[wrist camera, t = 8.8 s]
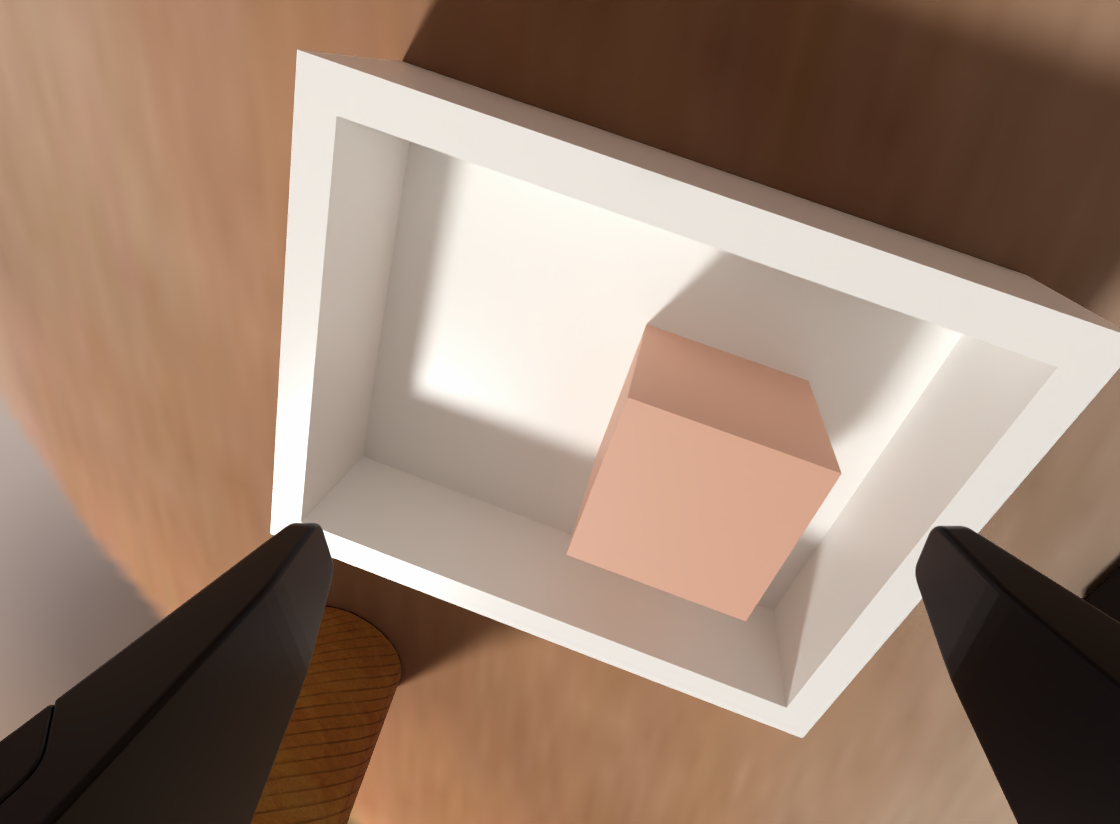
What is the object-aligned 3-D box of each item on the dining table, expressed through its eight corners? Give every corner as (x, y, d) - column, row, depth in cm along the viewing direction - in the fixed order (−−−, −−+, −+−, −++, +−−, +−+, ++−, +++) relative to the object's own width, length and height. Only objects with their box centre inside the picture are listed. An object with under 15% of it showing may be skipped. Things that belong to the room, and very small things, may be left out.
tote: (1025, 274, 16) (1142, 340, 12) (784, 617, 23) (802, 738, 19) (401, 60, 17) (297, 49, 13) (349, 454, 24) (270, 533, 20)
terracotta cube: (808, 381, 18) (841, 473, 13) (737, 508, 20) (745, 621, 16) (646, 324, 18) (627, 397, 14) (595, 457, 20) (566, 554, 16)
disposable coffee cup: (239, 661, 32) (16, 933, 22) (275, 545, 27) (11, 822, 17) (399, 743, 32) (255, 1049, 22) (462, 642, 28) (315, 972, 17)
